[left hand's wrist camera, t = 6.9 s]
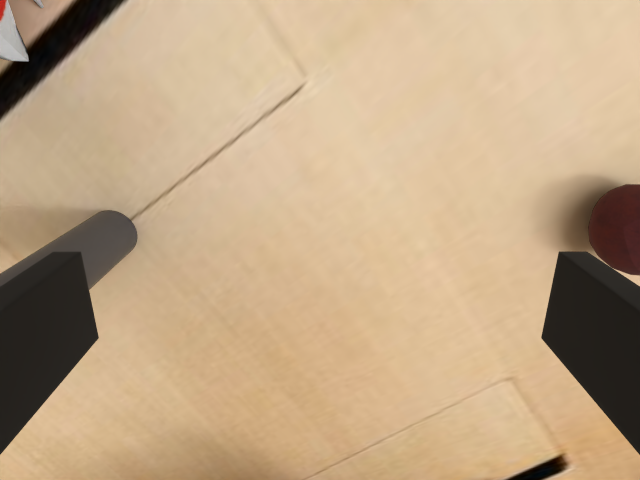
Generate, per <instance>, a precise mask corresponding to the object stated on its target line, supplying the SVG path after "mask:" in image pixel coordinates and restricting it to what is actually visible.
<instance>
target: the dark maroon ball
mask: <svg viewBox="0 0 640 480" xmlns="http://www.w3.org/2000/svg"><path fill="white" fill-rule="evenodd" d="M588 228H589V240H590V243H591V245H592V247H593V249H594V250H595V252H596V253H597V255H598V256H599V257H600V258H601V259H602V260H603V261H604V262H606V263H607V264H608V265H609V266H610V267H612V268H614V269H616V270H619V271H622V272H625V273H628V274H630V275H640V185H623V186H621V187H618V188H615V189H612V190H610V191H609V192H607V193H606V194H605V195H604V196H603V197H601V198H600V199H599V201H598V202H597V204H596V205H595V207H594V209H593V212H592V216H591V219H590V223H589V227H588Z"/></svg>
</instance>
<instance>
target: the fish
mask: <svg viewBox="0 0 640 480" xmlns="http://www.w3.org/2000/svg"><path fill="white" fill-rule="evenodd" d="M34 1H35V2H36V3H37V4H38V5H39V6H40V7H41V8H43V4H42V2H41V0H34ZM0 58H1V59H5V60H10V61H29V59H28V54H27V49H26V47H25V44H24V42H23V40H22V38H21V36H20V33H19V31H18V29H17V27H16V24H15V20H14V17H13V14H12V11H11V8H10V5H9V2H8V0H0Z"/></svg>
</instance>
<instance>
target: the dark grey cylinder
mask: <svg viewBox="0 0 640 480" xmlns="http://www.w3.org/2000/svg"><path fill="white" fill-rule="evenodd" d="M136 242H137V232H136V228H135V226H134V224H133V223H132V222H131V220H130V219H129V218H127V217H126V216H125V215H123V214H121V213H119V212H116V211H102V212H99V213H98V214H96V215H94V216H93V217H91V218H89V219H88V220H86V221H85V222H83V223H81V224H80V225H78V226H77V227H75V228H73V229H72V230H70V231H68V232H67V233H65V234H64V235H62V236H60V237H59V238H57V239H56V240H54V241H52V242H51V243H49V244H47V245H46V246H44V247H43V248H41V249H39V250H38V251H36V252H35V253H33V254H31V255H30V256H28V257H27V258H25V259H23V260H22V261H20V262H18V263H17V264H15V265H14V266H12V267H10V268H9V269H7V270H6V271H4V272H2V273H1V274H0V286H2V285H3V284H5V283H7V282H8V281H10V280H11V279H13V278H14V277H16V276H17V275H19V274H20V273H22V272H23V271H25V270H26V269H28V268H29V267H31V266H32V265H34V264H35V263H37V262H38V261H40V260H41V259H43V258H44V257H46V256H47V255H49V254H50V253H52V252H81V254H82V259H83V264H84V269H85V273H86V278H87V283H88V288H89V289H90V288H92V287H93V286H94V285H95V284H96V283H97V282H98V281H99V280H100V279H101V278H102V277H103V276H104V275H106V274H107V273H108V272H109V271H110V270H111V269H112V268H113V267H114V266H115V265H116V264H117V263H119V262H120V261H121V260H122V259H123V258H124V257H125V256H126V255H127V254H128V253H129V252H130V251H131V250H132V249H133V248H134V247H135V245H136Z"/></svg>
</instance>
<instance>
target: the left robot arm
mask: <svg viewBox="0 0 640 480" xmlns="http://www.w3.org/2000/svg"><path fill="white" fill-rule="evenodd" d="M98 338H99V337H98V332H97V327H96V323H95V318H94V313H93V308H92V303H91V298H90V293H89V288H88V283H87V278H86V273H85V269H84V264H83V259H82V254H81V252H52V253H50V254H49V255H47V256H46V257H44V258H43V259H41V260H40V261H38V262H37V263H35V264H34V265H32V266H31V267H29V268H28V269H26V270H25V271H23V272H22V273H20V274H19V275H17V276H16V277H14V278H13V279H11V280H10V281H8V282H7V283H5V284H3V285H2V286H0V454H1V453H2V452H3V451H4V450H5V448H6V447H7V446H8V445H9V444H10V442H11V441H12V440H13V439H14V438H15V437H16V435H17V434H18V433H19V432H20V431H21V429H22V428H23V427H24V426H25V425H26V424H27V422H28V421H29V420H30V419H31V418H32V416H33V415H34V414H35V413H36V412H37V410H38V409H39V408H40V407H41V406H42V405H43V403H44V402H45V401H46V400H47V399H48V397H49V396H50V395H51V394H52V393H53V391H54V390H55V389H56V388H57V387H58V386H59V384H60V383H61V382H62V381H63V380H64V378H65V377H66V376H67V375H68V374H69V373H70V371H71V370H72V369H73V368H74V367H75V365H76V364H77V363H78V362H79V361H80V359H81V358H82V357H83V356H84V355H85V354H86V352H87V351H88V350H89V349H90V348H91V346H92V345H93V344H94V343H95V342H96V341H97V339H98ZM541 338H542V339H543V341H544V342H545V343H546V344H547V345H548V346H549V348H550V349H551V350H552V351H553V352H554V354H555V355H556V356H557V357H558V358H559V359H560V361H561V362H562V363H563V364H564V365H565V367H566V368H567V369H568V370H569V371H570V373H571V374H572V375H573V376H574V377H575V378H576V380H577V381H578V382H579V383H580V384H581V386H582V387H583V388H584V389H585V390H586V391H587V393H588V394H589V395H590V396H591V397H592V399H593V400H594V401H595V402H596V403H597V405H598V406H599V407H600V408H601V409H602V410H603V412H604V413H605V414H606V415H607V416H608V418H609V419H610V420H611V421H612V422H613V424H614V425H615V426H616V427H617V428H618V429H619V431H620V432H621V433H622V434H623V435H624V437H625V438H626V439H627V440H628V441H629V442H630V444H631V445H632V446H633V447H634V448H635V450H636V451H637V452H638V453H639V454H640V286H638V285H637V284H635V283H633V282H632V281H630V280H629V279H627V278H626V277H624V276H623V275H621V274H620V273H618V272H617V271H615V270H614V269H612V268H611V267H609V266H608V265H606V264H605V263H603V262H602V261H600V260H599V259H597V258H596V257H594V256H593V255H591V254H590V253H588V252H559V254H558V259H557V264H556V269H555V273H554V278H553V283H552V288H551V293H550V298H549V303H548V308H547V313H546V318H545V323H544V327H543V332H542V337H541Z"/></svg>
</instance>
